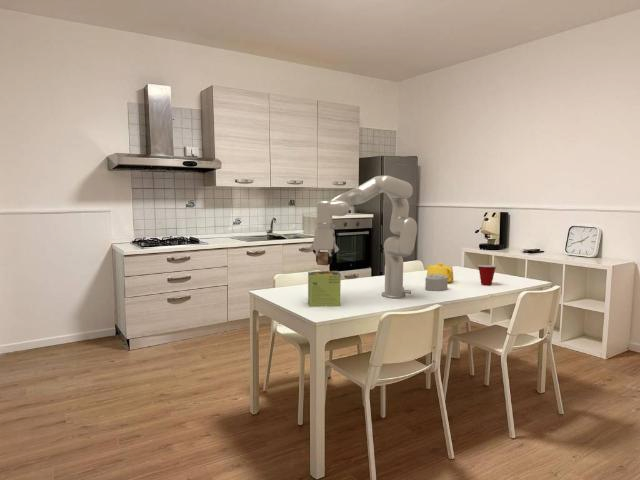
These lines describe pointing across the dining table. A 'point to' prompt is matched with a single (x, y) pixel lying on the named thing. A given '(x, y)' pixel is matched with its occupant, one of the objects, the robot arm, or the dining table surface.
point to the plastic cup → (486, 274)
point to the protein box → (324, 288)
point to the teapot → (441, 271)
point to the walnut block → (322, 258)
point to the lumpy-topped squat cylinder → (436, 282)
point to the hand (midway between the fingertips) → (323, 263)
